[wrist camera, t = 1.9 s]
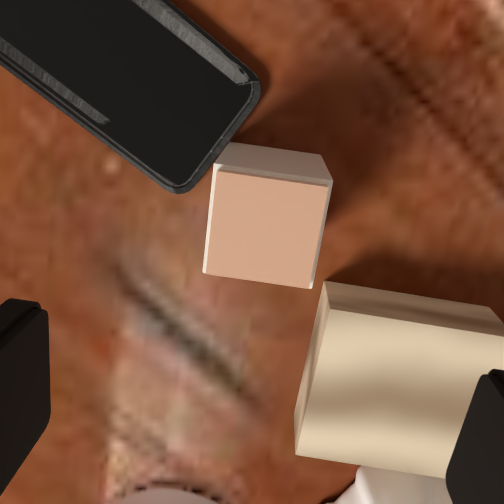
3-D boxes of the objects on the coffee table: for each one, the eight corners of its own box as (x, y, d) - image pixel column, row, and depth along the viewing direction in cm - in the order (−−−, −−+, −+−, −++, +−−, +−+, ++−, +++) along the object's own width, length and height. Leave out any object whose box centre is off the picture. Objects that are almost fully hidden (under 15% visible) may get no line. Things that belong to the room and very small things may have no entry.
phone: (10, -133, 21) (270, 86, 24) (23, -124, 22) (270, 85, 25) (-62, 20, 24) (181, 204, 26) (-48, 22, 25) (184, 198, 28)
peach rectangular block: (229, 141, 26) (212, 165, 19) (320, 154, 26) (334, 183, 19) (219, 228, 28) (200, 277, 21) (304, 240, 28) (312, 293, 21)
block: (323, 278, 29) (329, 308, 25) (486, 304, 29) (517, 338, 25) (293, 410, 32) (295, 454, 29) (438, 433, 32) (459, 481, 29)
